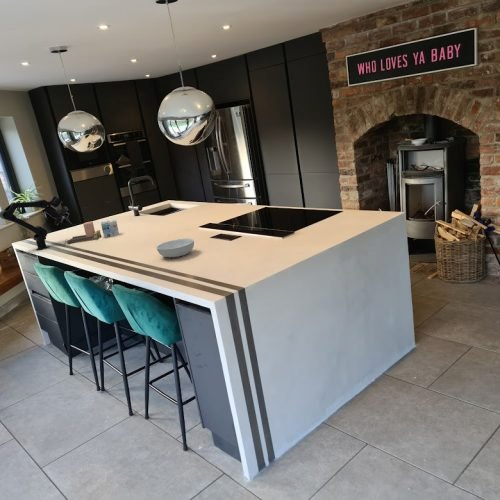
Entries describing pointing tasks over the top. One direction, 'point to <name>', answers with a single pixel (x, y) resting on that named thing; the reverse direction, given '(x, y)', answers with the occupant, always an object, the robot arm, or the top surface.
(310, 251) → the top surface
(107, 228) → the light bulb box
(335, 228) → the top surface
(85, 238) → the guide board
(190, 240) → the serving bowl
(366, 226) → the top surface
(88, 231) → the marker sleeve
